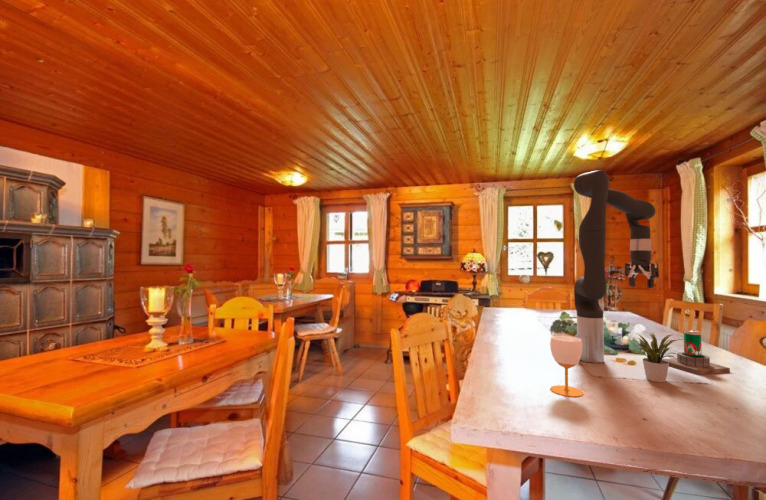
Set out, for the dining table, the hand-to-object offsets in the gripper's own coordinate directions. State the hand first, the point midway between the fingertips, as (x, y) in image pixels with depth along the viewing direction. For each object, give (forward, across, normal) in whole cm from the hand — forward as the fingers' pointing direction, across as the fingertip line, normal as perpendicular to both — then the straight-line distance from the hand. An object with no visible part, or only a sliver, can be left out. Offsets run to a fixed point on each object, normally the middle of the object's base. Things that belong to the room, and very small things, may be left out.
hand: (641, 287), depth 154 cm
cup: (+28, +33, -63) cm, 77 cm away
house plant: (+28, +30, -25) cm, 48 cm away
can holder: (+28, +21, 0) cm, 35 cm away
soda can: (+27, +21, 0) cm, 34 cm away
